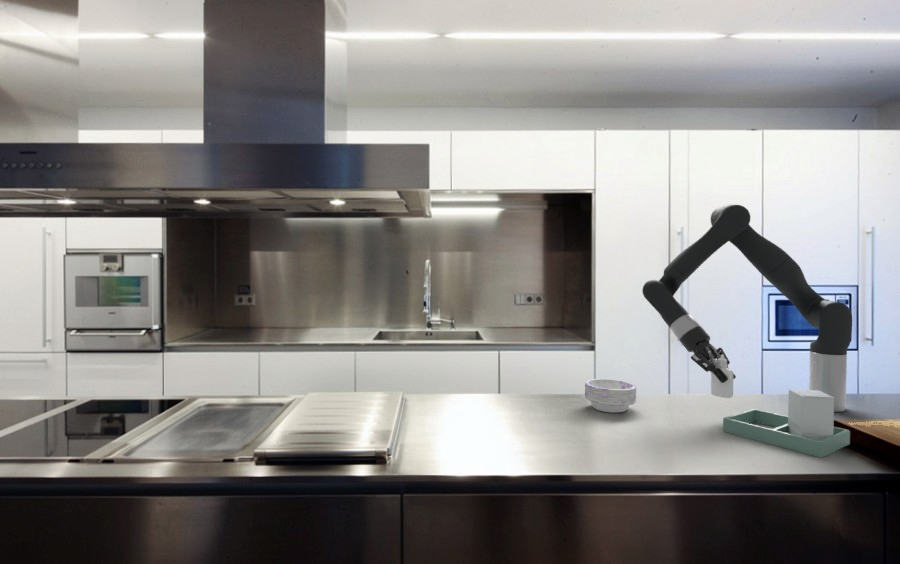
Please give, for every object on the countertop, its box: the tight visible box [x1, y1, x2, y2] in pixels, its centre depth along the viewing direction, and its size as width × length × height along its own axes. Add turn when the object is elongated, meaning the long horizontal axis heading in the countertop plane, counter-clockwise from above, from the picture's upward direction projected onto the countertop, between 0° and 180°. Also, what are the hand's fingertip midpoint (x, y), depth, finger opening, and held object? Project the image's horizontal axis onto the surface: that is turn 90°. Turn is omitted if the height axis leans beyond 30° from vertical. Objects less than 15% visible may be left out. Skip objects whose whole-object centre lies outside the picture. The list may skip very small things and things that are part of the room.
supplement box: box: [787, 389, 835, 441], centre depth 129 cm, size 7×7×13 cm
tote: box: [722, 408, 851, 458], centre depth 134 cm, size 16×23×4 cm
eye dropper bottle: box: [710, 355, 734, 399], centre depth 149 cm, size 4×6×12 cm
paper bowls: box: [584, 378, 637, 414], centre depth 161 cm, size 15×15×8 cm
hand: (729, 380), depth 148 cm, fingers closed on eye dropper bottle, 3 cm apart
